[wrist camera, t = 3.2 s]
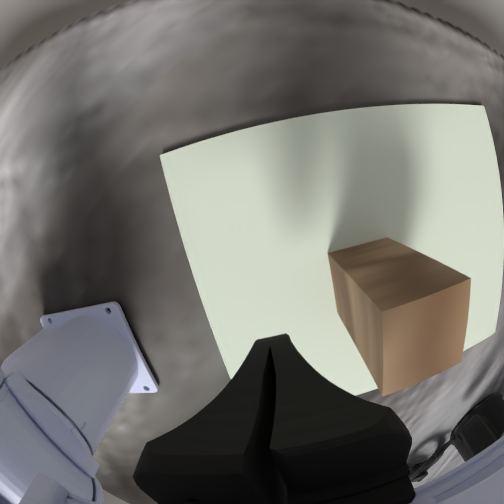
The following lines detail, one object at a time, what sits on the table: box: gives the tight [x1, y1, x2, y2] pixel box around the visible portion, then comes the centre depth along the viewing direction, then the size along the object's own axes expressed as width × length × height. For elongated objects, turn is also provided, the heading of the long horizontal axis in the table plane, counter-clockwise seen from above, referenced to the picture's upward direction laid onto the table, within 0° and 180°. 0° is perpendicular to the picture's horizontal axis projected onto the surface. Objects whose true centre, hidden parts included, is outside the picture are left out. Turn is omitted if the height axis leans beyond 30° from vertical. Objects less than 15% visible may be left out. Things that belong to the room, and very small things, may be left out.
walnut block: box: [327, 237, 471, 397], centre depth 12 cm, size 4×4×8 cm
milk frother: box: [408, 393, 504, 482], centre depth 14 cm, size 14×16×15 cm
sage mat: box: [160, 104, 504, 396], centre depth 16 cm, size 24×20×1 cm
